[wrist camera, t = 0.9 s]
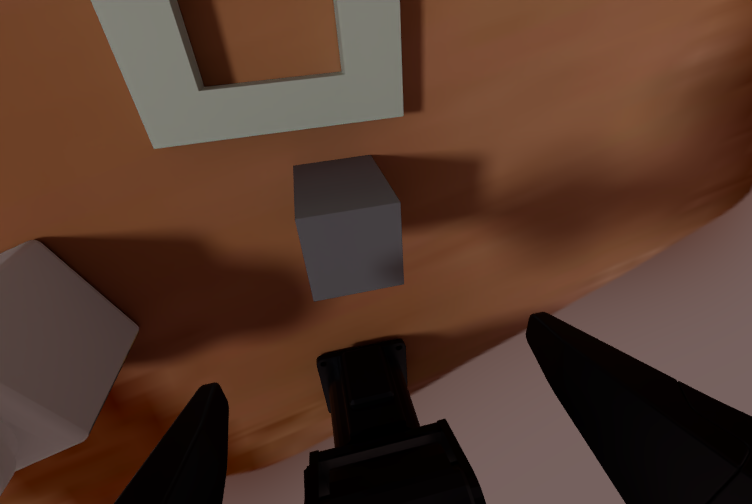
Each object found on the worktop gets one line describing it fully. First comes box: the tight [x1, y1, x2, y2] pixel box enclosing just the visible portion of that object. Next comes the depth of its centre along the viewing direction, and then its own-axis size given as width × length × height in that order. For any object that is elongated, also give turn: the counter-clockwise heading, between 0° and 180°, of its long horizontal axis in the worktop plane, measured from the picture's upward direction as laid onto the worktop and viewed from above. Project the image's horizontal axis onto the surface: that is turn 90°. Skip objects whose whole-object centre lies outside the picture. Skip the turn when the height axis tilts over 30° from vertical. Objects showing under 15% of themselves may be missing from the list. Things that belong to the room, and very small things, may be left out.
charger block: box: [293, 155, 404, 301], centre depth 17 cm, size 4×4×6 cm
